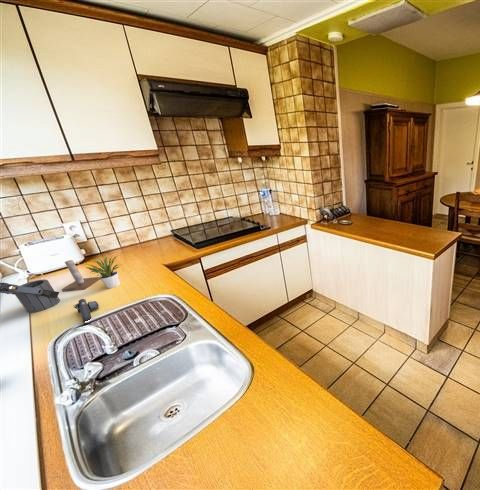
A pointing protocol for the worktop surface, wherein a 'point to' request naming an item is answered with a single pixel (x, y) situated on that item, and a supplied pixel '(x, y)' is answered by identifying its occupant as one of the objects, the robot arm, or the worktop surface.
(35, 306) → the grey ribbed cylinder
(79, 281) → the tape stand
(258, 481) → the worktop surface
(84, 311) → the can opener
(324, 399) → the worktop surface
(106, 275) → the house plant
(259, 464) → the worktop surface
